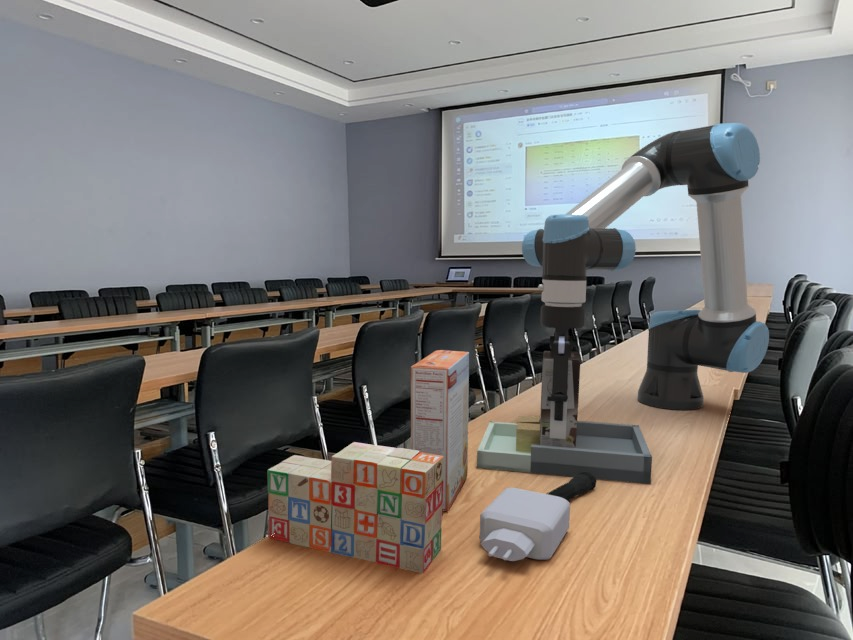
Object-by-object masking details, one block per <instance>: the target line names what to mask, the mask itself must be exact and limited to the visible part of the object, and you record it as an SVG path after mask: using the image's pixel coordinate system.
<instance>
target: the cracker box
mask: <svg viewBox="0 0 853 640" xmlns="http://www.w3.org/2000/svg"><path fill="white" fill-rule="evenodd" d="M469 377H470V352H469V351H458V350H448V349H439V350H438V349H437V350H435V351H433V352H432V353H430V354H429V355H427V356H425V357H424V358H422V359H420V360H419V361H418V362H416V363H415V364H413V365H411V366H410V449H411V450H417V451H420V453H428V454H434V455H441V456H444V465H443V502H442V512H443V511H444V512H448V511H449V510H450V508H451V506H452V505H453V503H454V501H455V500H456V498H457V496H458V494H459V492H460V491H461V488H462V487H463V485H464V483H465V481H466V480H467V478H468V471H469V470H468V469H469V468H468V466H469V465H468V464H469V463H468V462H469V458H468V457H469V455H468V453H469V396H470V395H469V388H470V383H469V382H470V381H469V379H470V378H469Z"/></svg>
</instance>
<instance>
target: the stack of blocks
mask: <svg viewBox="0 0 853 640" xmlns="http://www.w3.org/2000/svg"><path fill="white" fill-rule="evenodd" d="M443 465H444V456H441V455H434V454H428V453H420V451H417V450H411V448H402V447H397V448H396V447H393V446H392V447H391V446H384V445H377V444H376V445H374V444H370V443H369V444H368V443H365V442H364V443H363V442H356V441H353V442H352V443H350V444H348V446H346V447H345V446H344V448H343V449H341V450H340V451H339V452H337V453H335V454H333V455H331V460H328V459H323V458H322V459H321V458H315V457H314V458H313V457H310V456H309V457H308V456H303V455H297V454H294V455H292V456H289V457H288V458H286V459H284V460H282V461H281V462H279V463H278V464H276V465H274V466H271V467H270V468H268V469H267V493H268V505H267V506H268V507H267V508H268V538H269V539H272V540H276V541H280V542H286V543H289V544H292V545H297V546H300V547H305V548H310V549H314V550H318V551H323V552H327V553H333V554H338V555H341V556H344V557H345V556H346V557H350V558H355V559H360V560H364V561H369V562H373V563H377V564H380V565H384V566H388V567H393V568H397V569H402V570H406V571H409V572H416V573H419V574H425V572H426V570H427V569H428V568H429V567H430V565H431V564H432V562H433V561H434V559H435V558H436V557H437V555H438V554H439V553H440V551H441V550H442V525H443V524H442V521H443V511H442V502H443ZM274 533H275V534H274ZM272 534H273V535H272ZM271 535H272V536H271ZM273 536H274V537H273Z"/></svg>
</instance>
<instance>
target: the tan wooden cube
mask: <svg viewBox="0 0 853 640" xmlns="http://www.w3.org/2000/svg"><path fill="white" fill-rule="evenodd" d="M517 423H530V424H540V416H539V415H519V416H518V417H517V421H516V424H517Z"/></svg>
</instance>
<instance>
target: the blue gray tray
mask: <svg viewBox="0 0 853 640" xmlns="http://www.w3.org/2000/svg"><path fill="white" fill-rule="evenodd" d="M652 463H653V455H652V453H651V451H650V449H649V446H648V444H647V441H646V440H645V437H644V434H643V432H642V430H641V427H640V425H639V424H626V423H625V424H624V423H615V422H614V423H613V422H599V421H587V420H586V421H585V420H577V434H576V448H567V447H555V446H543V445H531V467H530V473H529V474H537V475H538V474H540V475H548V476H559V477H570V478H574V477H575V476H577V475H578V474H580V473H582V472H585V471H587V472H590V473H592V474H593V475H594V476H595V478H596V480H604V481H610V482H611V481H613V482H622V483H634V484H644V485H651V483H652V468H653V467H652V465H653V464H652Z"/></svg>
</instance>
